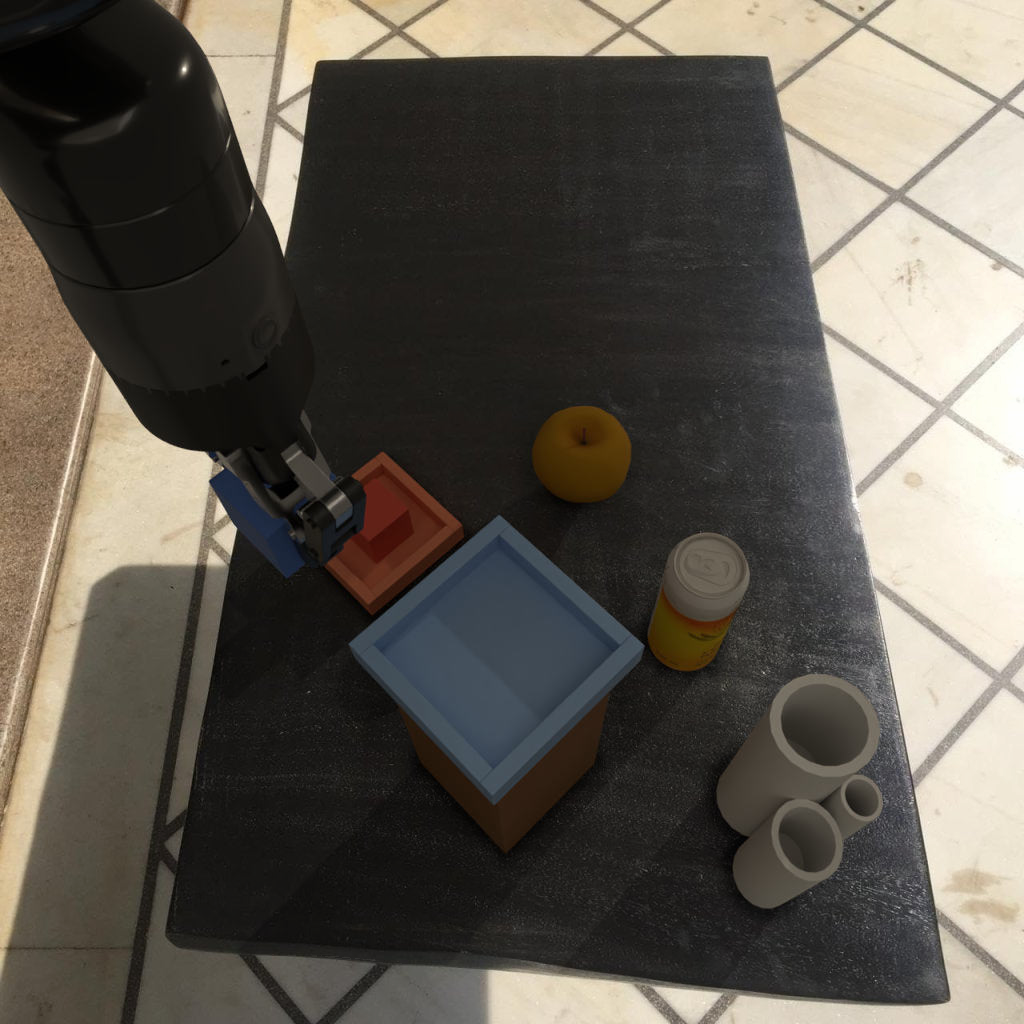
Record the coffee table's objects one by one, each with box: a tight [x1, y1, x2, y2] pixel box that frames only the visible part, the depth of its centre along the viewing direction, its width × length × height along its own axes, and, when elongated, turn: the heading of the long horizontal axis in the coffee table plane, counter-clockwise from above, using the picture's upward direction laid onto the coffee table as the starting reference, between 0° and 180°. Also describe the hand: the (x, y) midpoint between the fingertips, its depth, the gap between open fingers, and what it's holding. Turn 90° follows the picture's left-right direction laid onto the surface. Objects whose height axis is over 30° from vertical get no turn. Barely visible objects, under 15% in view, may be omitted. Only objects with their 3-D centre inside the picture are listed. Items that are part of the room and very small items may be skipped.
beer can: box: [647, 532, 751, 672], centre depth 77 cm, size 6×6×15 cm
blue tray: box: [348, 514, 645, 854], centre depth 67 cm, size 12×12×26 cm
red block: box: [350, 478, 414, 564], centre depth 86 cm, size 4×4×4 cm
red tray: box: [323, 451, 465, 616], centre depth 87 cm, size 11×11×2 cm
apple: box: [531, 405, 632, 504], centre depth 87 cm, size 9×9×9 cm
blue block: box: [208, 468, 337, 579], centre depth 49 cm, size 4×4×4 cm
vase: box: [715, 673, 884, 909], centre depth 67 cm, size 11×7×20 cm, turn 8°
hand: (292, 521), depth 50 cm, fingers closed on blue block, 4 cm apart
